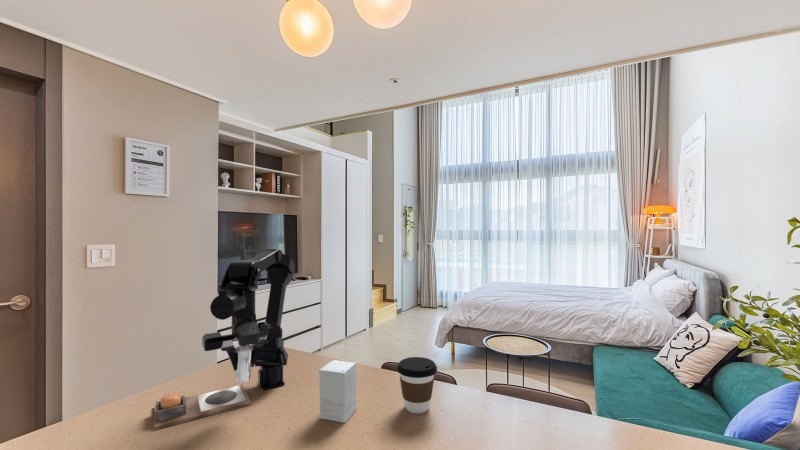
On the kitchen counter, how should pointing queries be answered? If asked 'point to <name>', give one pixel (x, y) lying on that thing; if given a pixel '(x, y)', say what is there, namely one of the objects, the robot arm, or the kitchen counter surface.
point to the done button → (170, 401)
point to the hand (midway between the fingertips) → (243, 368)
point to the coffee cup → (417, 382)
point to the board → (201, 406)
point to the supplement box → (338, 391)
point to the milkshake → (243, 362)
